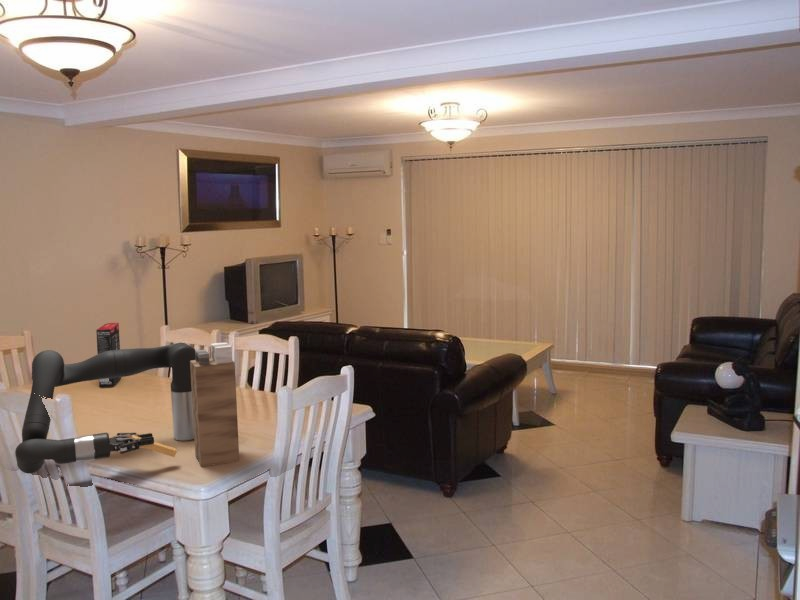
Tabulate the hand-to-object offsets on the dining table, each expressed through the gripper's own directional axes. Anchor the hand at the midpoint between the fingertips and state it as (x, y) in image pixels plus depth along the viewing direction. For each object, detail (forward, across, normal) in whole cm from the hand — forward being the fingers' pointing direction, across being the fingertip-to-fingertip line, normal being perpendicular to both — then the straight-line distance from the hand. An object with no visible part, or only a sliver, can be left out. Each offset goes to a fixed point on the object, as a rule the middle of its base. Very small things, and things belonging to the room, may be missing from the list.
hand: (152, 438), depth 216 cm
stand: (+19, 0, -10) cm, 22 cm away
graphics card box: (-5, -122, -10) cm, 123 cm away
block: (0, 0, -3) cm, 3 cm away
